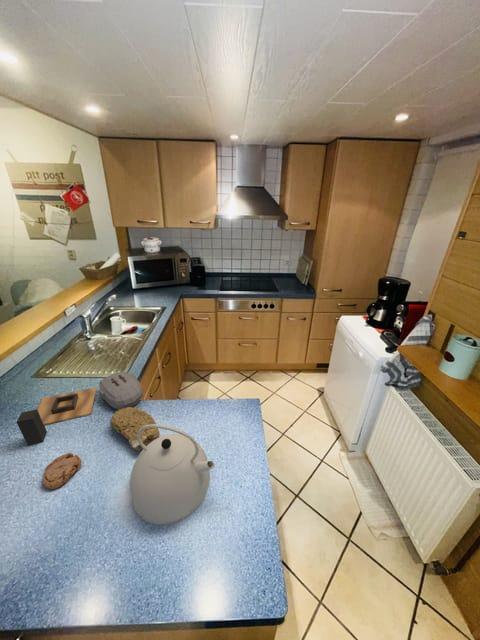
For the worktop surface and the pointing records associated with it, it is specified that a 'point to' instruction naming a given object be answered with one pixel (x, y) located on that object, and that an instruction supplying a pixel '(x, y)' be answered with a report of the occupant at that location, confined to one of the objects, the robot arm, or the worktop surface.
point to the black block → (31, 427)
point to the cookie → (60, 470)
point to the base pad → (67, 406)
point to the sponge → (134, 426)
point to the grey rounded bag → (121, 390)
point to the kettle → (169, 477)
